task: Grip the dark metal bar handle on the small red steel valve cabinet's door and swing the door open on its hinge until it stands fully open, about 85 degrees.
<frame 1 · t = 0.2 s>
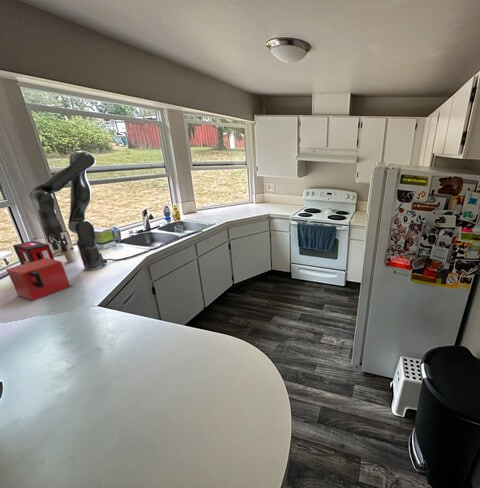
hand: (60, 250, 150), 17 cm above the table, tool pointing down, fingers open, 8 cm apart
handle: (70, 262, 176), on the table
tea box: (102, 246, 205), on the table
door: (50, 281, 135), point 8 cm above the table, hinge at 0.0°
valve cabinet: (44, 290, 140), on the table
cleaning product box: (43, 274, 158), on the table
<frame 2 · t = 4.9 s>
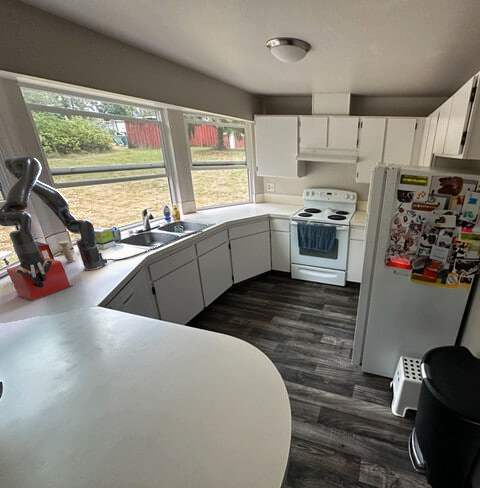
hand: (40, 281, 129), 11 cm above the table, tool pointing down, fingers closed on door, 2 cm apart
door: (50, 281, 135), point 8 cm above the table, hinge at 0.0°, touching gripper
everything else where it was.
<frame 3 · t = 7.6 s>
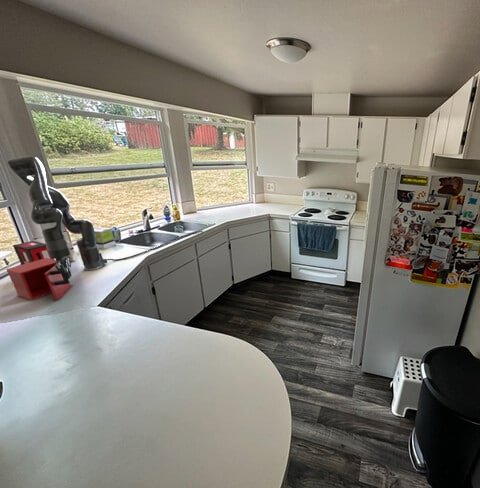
hand: (68, 277, 134), 11 cm above the table, tool pointing down, fingers closed on door, 2 cm apart
door: (65, 279, 137), point 8 cm above the table, hinge at 44.0°, touching gripper
everything else where it was.
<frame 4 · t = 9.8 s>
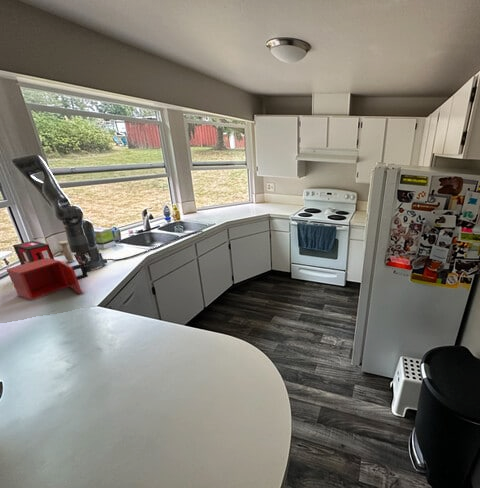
hand: (87, 271, 141), 10 cm above the table, tool pointing down, fingers closed
door: (77, 275, 141), point 8 cm above the table, hinge at 78.9°
everything else where it was.
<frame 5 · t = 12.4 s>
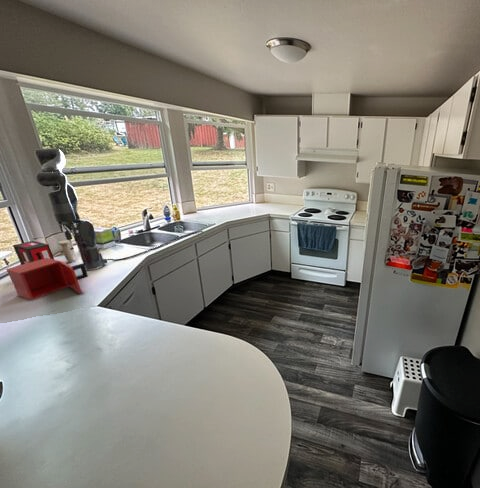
hand: (74, 240, 135), 29 cm above the table, tool pointing down, fingers open, 8 cm apart
nothing on the table moved.
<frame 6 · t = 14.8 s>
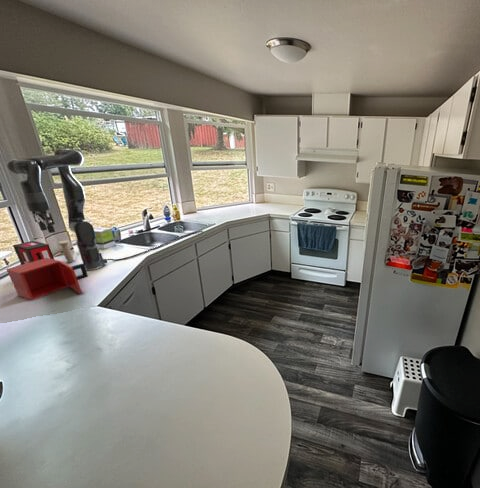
hand: (48, 231, 132), 34 cm above the table, tool pointing down, fingers open, 8 cm apart
nothing on the table moved.
at the end: door at +79° (first picture: +0°); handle moved 0.2 cm from its start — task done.
